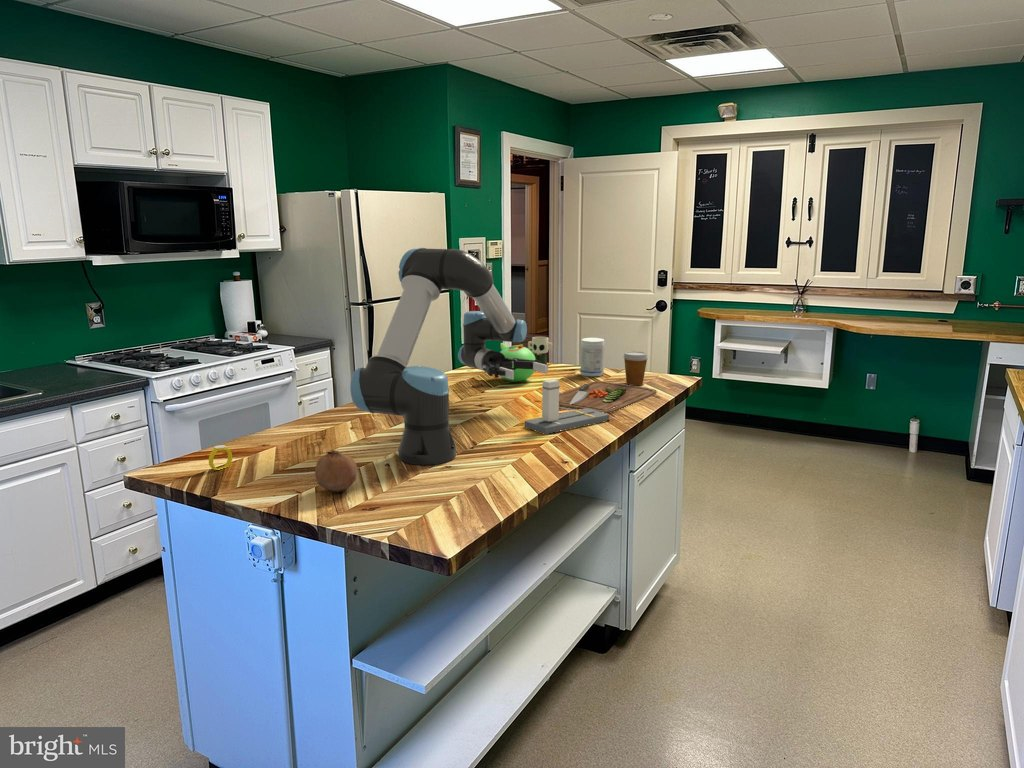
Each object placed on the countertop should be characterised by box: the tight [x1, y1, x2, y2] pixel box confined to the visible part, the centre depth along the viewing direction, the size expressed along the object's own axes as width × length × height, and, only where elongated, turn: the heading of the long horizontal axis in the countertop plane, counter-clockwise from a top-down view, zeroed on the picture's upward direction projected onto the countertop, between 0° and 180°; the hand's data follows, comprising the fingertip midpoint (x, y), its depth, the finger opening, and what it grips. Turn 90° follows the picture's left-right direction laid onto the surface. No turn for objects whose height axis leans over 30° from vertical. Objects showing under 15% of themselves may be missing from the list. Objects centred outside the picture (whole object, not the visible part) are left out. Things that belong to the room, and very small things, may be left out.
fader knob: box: [541, 378, 560, 422], centre depth 214 cm, size 4×3×12 cm
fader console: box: [523, 408, 610, 435], centre depth 220 cm, size 26×10×2 cm, turn 127°
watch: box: [208, 444, 233, 471], centre depth 177 cm, size 6×3×6 cm, turn 150°
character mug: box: [527, 336, 554, 365], centre depth 305 cm, size 11×7×13 cm, turn 71°
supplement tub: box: [580, 337, 605, 378], centre depth 291 cm, size 10×10×15 cm
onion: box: [314, 449, 359, 493], centre depth 162 cm, size 10×9×10 cm
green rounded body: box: [499, 342, 535, 383], centre depth 279 cm, size 18×17×15 cm
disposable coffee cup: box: [622, 350, 649, 386], centre depth 275 cm, size 10×10×12 cm
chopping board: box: [559, 381, 658, 414], centre depth 254 cm, size 45×27×3 cm, turn 145°
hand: (530, 372), depth 222 cm, fingers open, 13 cm apart
